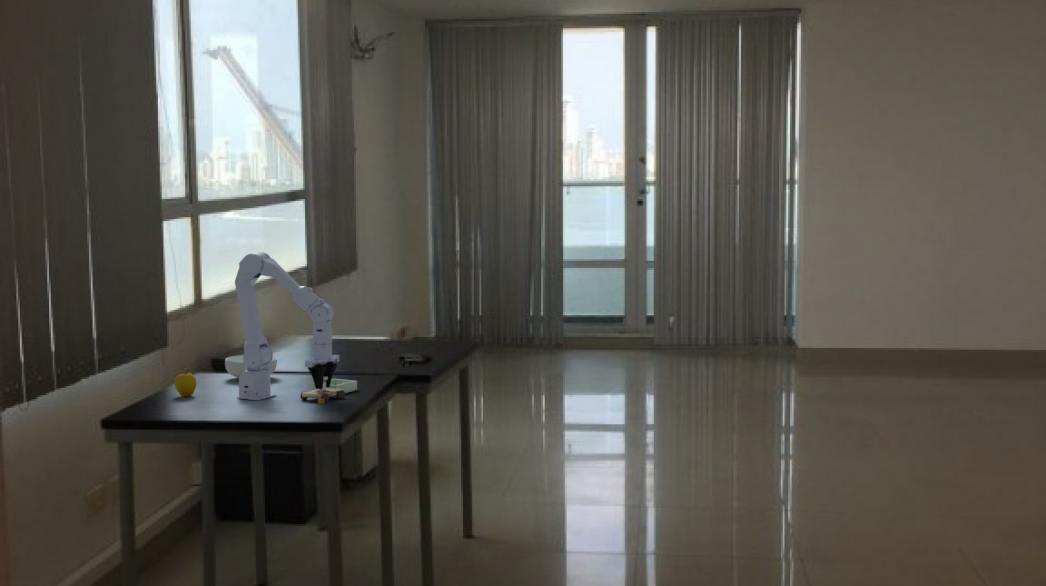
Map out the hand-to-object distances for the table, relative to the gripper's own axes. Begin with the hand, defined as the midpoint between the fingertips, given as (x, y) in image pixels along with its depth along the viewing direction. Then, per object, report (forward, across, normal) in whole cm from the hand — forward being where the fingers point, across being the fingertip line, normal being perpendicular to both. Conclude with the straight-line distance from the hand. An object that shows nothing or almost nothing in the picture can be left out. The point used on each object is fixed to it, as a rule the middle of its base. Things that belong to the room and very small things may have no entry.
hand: (322, 388), depth 357 cm
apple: (+4, -17, +39) cm, 43 cm away
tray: (+3, +13, +5) cm, 14 cm away
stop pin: (+3, 0, 0) cm, 3 cm away
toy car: (+3, 0, 0) cm, 3 cm away
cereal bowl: (+4, +19, +44) cm, 48 cm away
